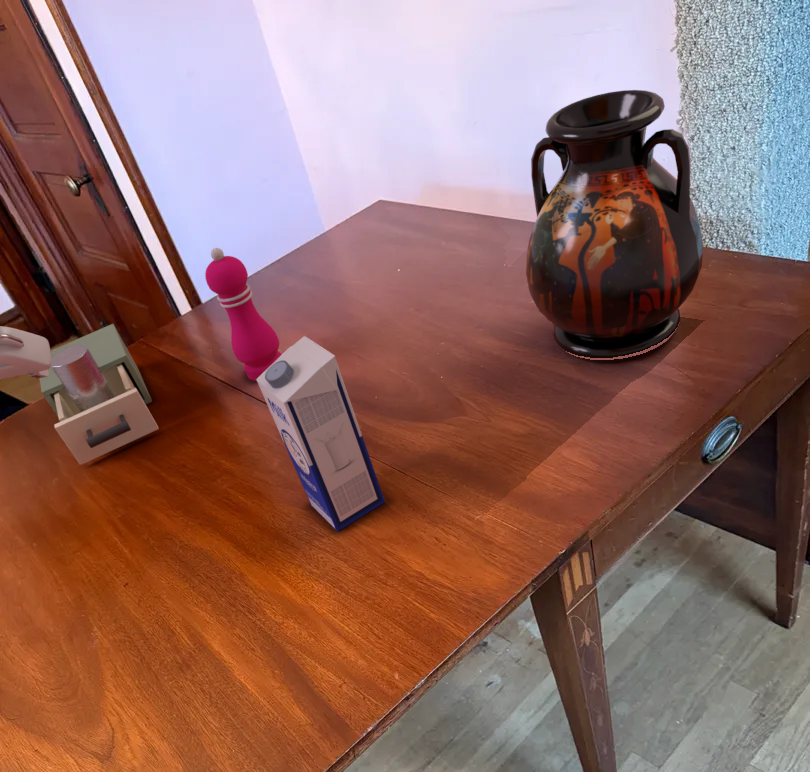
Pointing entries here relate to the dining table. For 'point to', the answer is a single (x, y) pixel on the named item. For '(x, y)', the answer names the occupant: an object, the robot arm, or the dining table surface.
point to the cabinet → (98, 361)
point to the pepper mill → (242, 314)
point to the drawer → (104, 419)
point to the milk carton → (321, 433)
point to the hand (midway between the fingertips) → (11, 377)
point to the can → (82, 377)
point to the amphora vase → (612, 228)
